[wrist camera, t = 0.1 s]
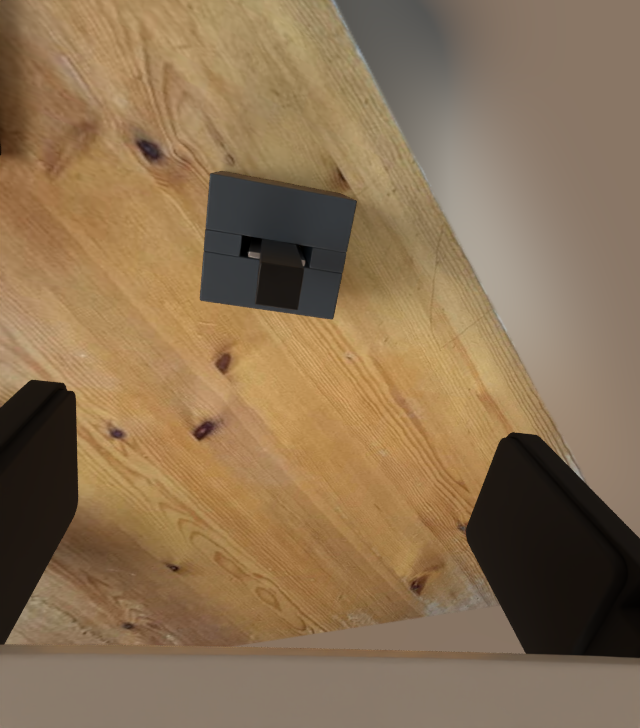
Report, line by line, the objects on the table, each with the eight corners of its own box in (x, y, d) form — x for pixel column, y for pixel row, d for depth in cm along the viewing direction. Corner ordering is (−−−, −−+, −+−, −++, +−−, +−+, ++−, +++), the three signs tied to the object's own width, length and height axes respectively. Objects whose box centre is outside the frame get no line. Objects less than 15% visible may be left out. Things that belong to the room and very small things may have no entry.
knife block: (220, 170, 30) (210, 172, 24) (341, 193, 31) (357, 200, 26) (211, 277, 32) (199, 300, 27) (322, 294, 34) (333, 320, 28)
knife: (254, 219, 31) (245, 259, 18) (298, 226, 32) (319, 271, 19) (251, 245, 32) (239, 302, 19) (294, 252, 32) (311, 312, 20)
